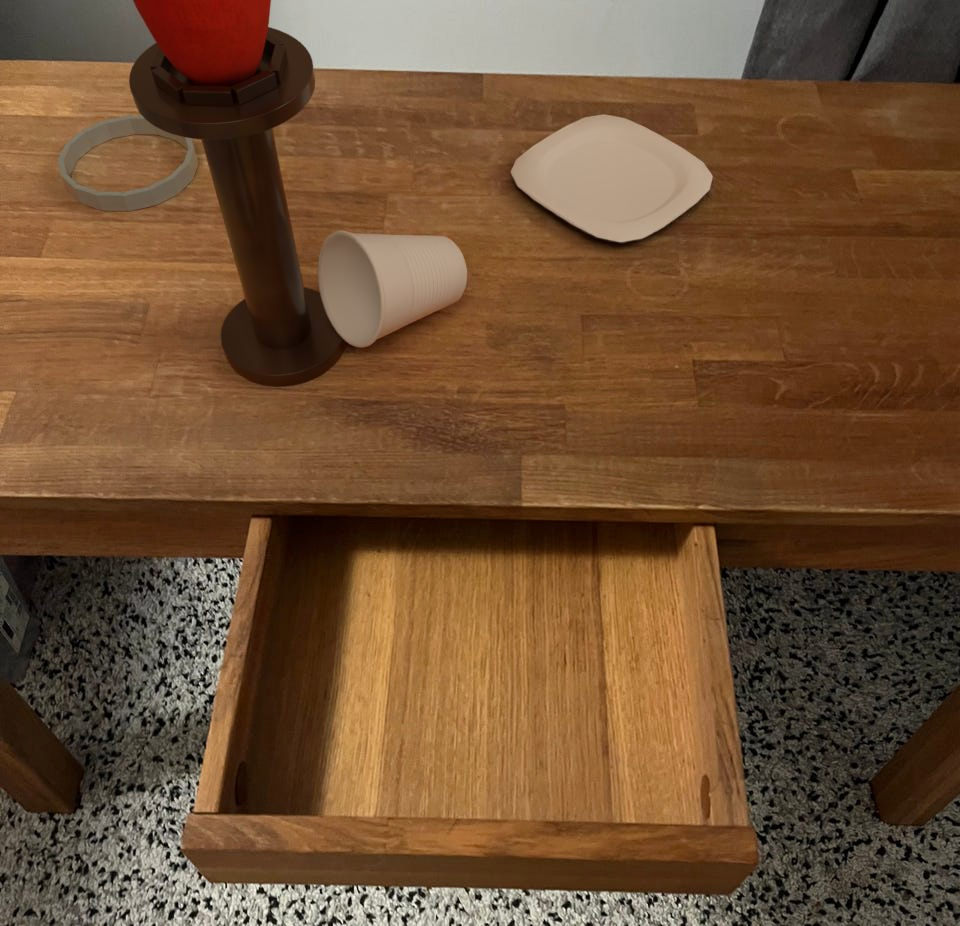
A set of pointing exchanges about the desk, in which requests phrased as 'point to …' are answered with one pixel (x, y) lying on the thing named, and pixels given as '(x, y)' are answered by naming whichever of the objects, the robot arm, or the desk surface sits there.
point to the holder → (251, 203)
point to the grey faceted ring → (133, 197)
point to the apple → (209, 36)
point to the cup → (386, 281)
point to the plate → (612, 178)
